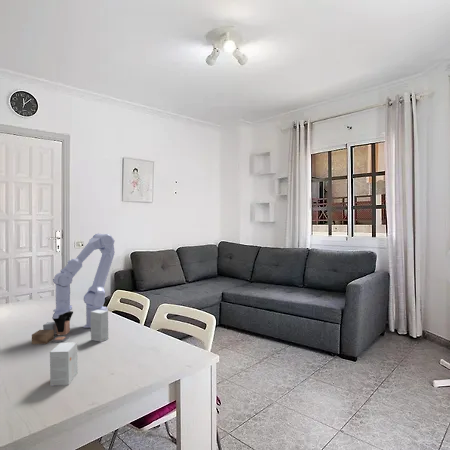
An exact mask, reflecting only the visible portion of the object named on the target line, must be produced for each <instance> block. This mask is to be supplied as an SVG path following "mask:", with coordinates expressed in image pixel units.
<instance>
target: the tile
mask: <svg viewBox="0 0 450 450" xmlns="http://www.w3.org/2000/svg"><path fill="white" fill-rule="evenodd" d="M69 338H70V337H69V336H66V335H63V336H56V337H54V339H53V340H51V341H50V343H65V342H66V341H67V340H68V339H69Z"/></svg>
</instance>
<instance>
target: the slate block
mask: <svg viewBox="0 0 450 450" xmlns="http://www.w3.org/2000/svg"><path fill="white" fill-rule="evenodd" d="M42 327H43V329H42V330H54V336H55V335H57V326H56V324H55V322H54V321H47V322H46V323H43V325H42Z"/></svg>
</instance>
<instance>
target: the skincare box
mask: <svg viewBox="0 0 450 450" xmlns="http://www.w3.org/2000/svg"><path fill="white" fill-rule="evenodd" d="M108 339H109V310H108V311H104V310H95V311H92V312H91V328H90V340H91V341H95V342H100V343H102V342H104V341H107V340H108Z"/></svg>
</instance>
